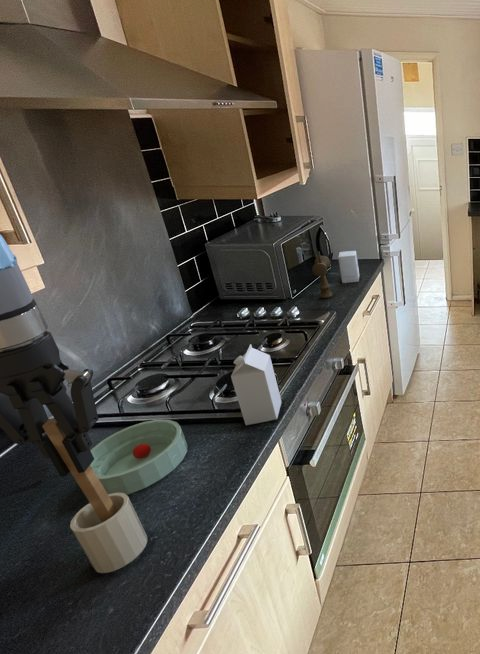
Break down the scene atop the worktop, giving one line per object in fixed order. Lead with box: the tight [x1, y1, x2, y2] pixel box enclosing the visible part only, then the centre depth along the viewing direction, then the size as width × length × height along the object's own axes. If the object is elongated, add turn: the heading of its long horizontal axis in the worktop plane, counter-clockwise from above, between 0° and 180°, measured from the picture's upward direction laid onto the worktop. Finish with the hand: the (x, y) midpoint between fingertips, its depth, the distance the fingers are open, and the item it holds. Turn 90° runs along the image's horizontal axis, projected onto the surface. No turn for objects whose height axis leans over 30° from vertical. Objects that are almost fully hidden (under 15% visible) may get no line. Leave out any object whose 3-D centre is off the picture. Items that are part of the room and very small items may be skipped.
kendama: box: [311, 251, 334, 299], centre depth 169 cm, size 6×10×20 cm, turn 16°
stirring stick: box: [42, 417, 117, 522], centre depth 67 cm, size 2×2×22 cm
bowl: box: [90, 419, 188, 496], centre depth 91 cm, size 17×17×6 cm
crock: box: [69, 493, 148, 574], centre depth 72 cm, size 7×7×11 cm
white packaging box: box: [337, 250, 360, 284], centre depth 187 cm, size 7×7×13 cm
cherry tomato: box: [133, 444, 151, 458], centre depth 93 cm, size 3×3×3 cm
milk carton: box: [230, 343, 283, 426], centre depth 104 cm, size 7×7×19 cm
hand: (77, 467), depth 66 cm, fingers closed on stirring stick, 2 cm apart
